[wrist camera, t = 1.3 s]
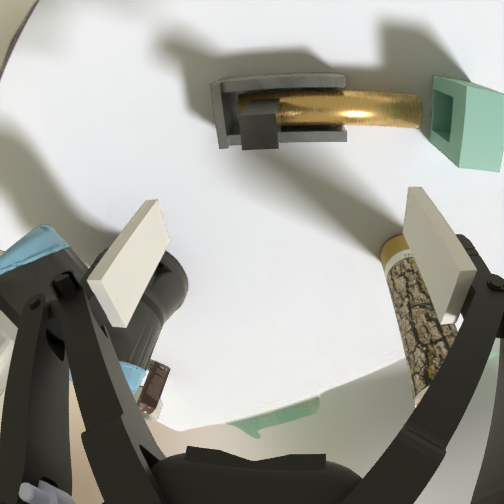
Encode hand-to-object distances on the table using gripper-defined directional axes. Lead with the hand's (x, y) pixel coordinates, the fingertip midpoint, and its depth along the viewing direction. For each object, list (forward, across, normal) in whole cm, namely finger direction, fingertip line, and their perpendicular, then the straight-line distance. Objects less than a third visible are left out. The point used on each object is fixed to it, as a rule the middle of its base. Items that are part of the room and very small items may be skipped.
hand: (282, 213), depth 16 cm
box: (+25, -35, -56) cm, 70 cm away
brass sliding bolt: (+23, +5, +1) cm, 24 cm away
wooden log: (+25, +16, -21) cm, 36 cm away
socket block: (+24, +22, +1) cm, 33 cm away
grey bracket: (+25, 0, +1) cm, 25 cm away
